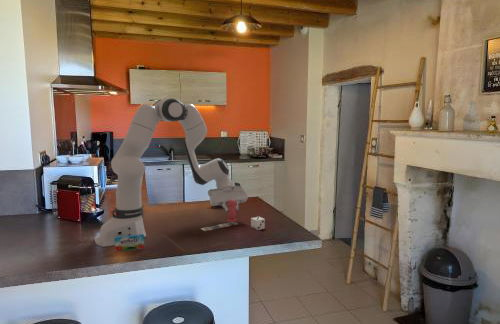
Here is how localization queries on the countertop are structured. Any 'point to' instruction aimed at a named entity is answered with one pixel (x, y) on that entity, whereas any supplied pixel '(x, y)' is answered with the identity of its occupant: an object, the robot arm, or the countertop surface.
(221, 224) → the game strip
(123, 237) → the colorful food package
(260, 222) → the die
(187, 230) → the countertop surface
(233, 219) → the pawn
